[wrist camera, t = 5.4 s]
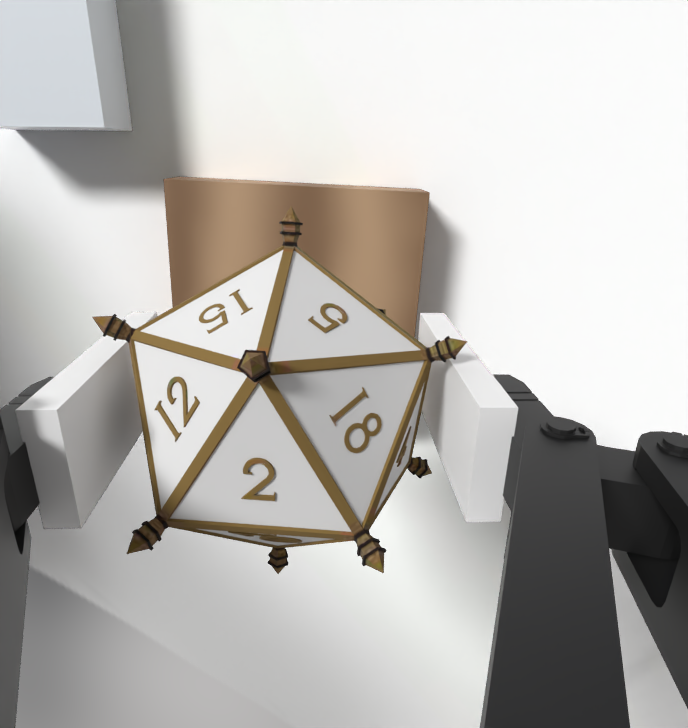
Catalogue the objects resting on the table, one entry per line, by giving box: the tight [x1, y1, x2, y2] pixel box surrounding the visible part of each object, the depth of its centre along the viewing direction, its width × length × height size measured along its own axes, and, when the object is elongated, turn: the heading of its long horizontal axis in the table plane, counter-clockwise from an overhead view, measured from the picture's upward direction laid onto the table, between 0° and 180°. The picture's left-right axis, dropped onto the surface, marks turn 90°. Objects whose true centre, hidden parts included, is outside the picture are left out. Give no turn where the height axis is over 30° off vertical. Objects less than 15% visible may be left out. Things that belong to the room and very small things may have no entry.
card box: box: [0, 0, 132, 131], centre depth 24 cm, size 6×9×4 cm, turn 0°
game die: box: [93, 206, 467, 574], centre depth 14 cm, size 9×8×10 cm
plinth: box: [164, 177, 429, 337], centre depth 30 cm, size 13×13×3 cm
